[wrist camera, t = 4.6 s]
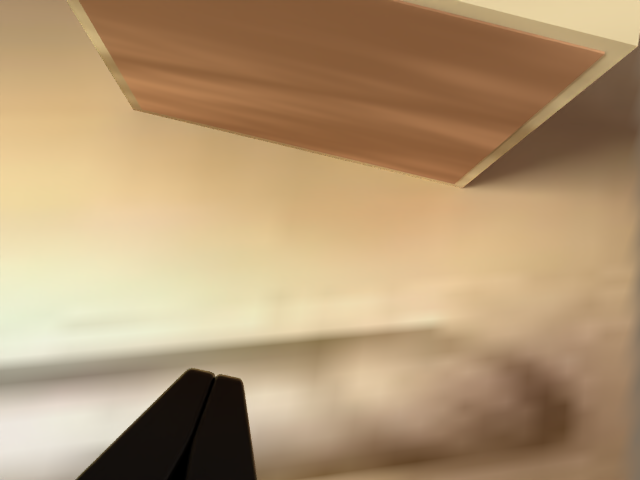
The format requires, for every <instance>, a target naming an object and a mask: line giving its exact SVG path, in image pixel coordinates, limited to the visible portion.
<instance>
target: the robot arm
mask: <svg viewBox="0 0 640 480" xmlns="http://www.w3.org/2000/svg"><path fill="white" fill-rule="evenodd" d="M76 480H257V475H256V468H255V461H254V454H253V448H252V441H251V434H250V427H249V420H248V413H247V406H246V399H245V392H244V385H243V382H242V380H241V379H240V378H236V377H231V376H227V375H222V374H219V375H217V376H216V377H215V375H214V373H212V372H209V371H204V370H200V369H195V368H190V369H188V370H187V371H185V372H184V373H183V374H182V375H181V376H180V377H179V378H178V379H177V380H176V381H175V382H174V383H173V384H172V385H171V386H170V387H169V388H168V389H167V390H166V391H165V392H164V393H163V394H162V395H161V396H160V397H159V398H158V399H157V400H156V401H155V402H154V403H153V404H152V405H151V406H150V407H149V408H148V409H147V410H146V411H145V412H144V413H143V414H142V415H141V416H140V417H139V418H138V419H136V420H135V421H134V422H133V423H132V424H131V425H130V426H129V427H128V428H127V429H126V430H125V431H124V432H123V433H122V434H121V435H120V436H119V437H118V438H117V439H116V440H115V441H114V442H113V443H112V444H111V445H110V446H109V447H108V448H107V449H106V450H105V451H104V452H103V453H102V454H101V455H100V456H99V457H98V458H97V459H96V460H95V461H94V462H93V463H92V464H91V465H90V466H89V467H88V468H87V469H86V470H85V471H84V472H83V473H82V474H81V475H80V476H79V477H78V478H77V479H76Z"/></svg>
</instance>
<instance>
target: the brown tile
mask: <svg viewBox="0 0 640 480" xmlns="http://www.w3.org/2000/svg"><path fill="white" fill-rule="evenodd" d="M66 1H67V3H68V4H69V6H70V8H71V9H72V11H73V12H74V14H75V16H76V17H77V19H78V21H79V22H80V24H81V25H82V27H83V29H84V30H85V32H86V33H87V35H88V37H89V38H90V40H91V42H92V43H93V45H94V46H95V48H96V50H97V51H98V53H99V55H100V56H101V58H102V59H103V61H104V63H105V64H106V66H107V67H108V69H109V71H110V72H111V74H112V76H113V77H114V79H115V80H116V82H117V84H118V85H119V87H120V88H121V90H122V92H123V93H124V95H125V97H126V98H127V100H128V101H129V103H130V105H131V106H132V108H133V110H137V111H141V112H145V113H150V114H154V115H158V116H162V117H166V118H171V119H175V120H179V121H183V122H187V123H191V124H196V125H200V126H204V127H208V128H212V129H217V130H221V131H225V132H229V133H233V134H238V135H242V136H246V137H250V138H254V139H258V140H263V141H267V142H271V143H275V144H279V145H284V146H288V147H292V148H296V149H300V150H304V151H309V152H313V153H317V154H321V155H325V156H330V157H334V158H338V159H342V160H346V161H351V162H355V163H359V164H363V165H367V166H371V167H376V168H380V169H384V170H388V171H392V172H397V173H401V174H405V175H409V176H413V177H417V178H422V179H426V180H430V181H434V182H438V183H443V184H447V185H451V186H455V187H459V188H463V187H464V186H465V185H467V184H468V183H469V182H470V181H472V180H473V179H474V178H475V177H476V176H478V175H479V174H480V173H481V172H483V171H484V170H485V169H486V168H488V167H489V166H490V165H491V164H493V163H494V162H495V161H496V160H498V159H499V158H500V157H501V156H502V155H504V154H505V153H506V152H507V151H509V150H510V149H511V148H512V147H514V146H515V145H516V144H517V143H519V142H520V141H521V140H522V139H524V138H525V137H526V136H527V135H528V134H530V133H531V132H532V131H533V130H535V129H536V128H537V127H538V126H540V125H541V124H542V123H543V122H545V121H546V120H547V119H548V118H550V117H551V116H552V115H553V114H554V113H556V112H557V111H558V110H559V109H561V108H562V107H563V106H564V105H566V104H567V103H568V102H569V101H571V100H572V99H573V98H574V97H576V96H577V95H578V94H579V93H581V92H582V91H583V90H584V89H585V88H587V87H588V86H589V85H590V84H592V83H593V82H594V81H595V80H597V79H598V78H599V77H600V76H602V75H603V74H604V73H605V72H607V71H608V70H609V69H610V68H611V67H613V66H614V65H615V64H616V63H618V62H619V61H620V60H621V59H623V58H624V57H625V56H626V55H628V54H629V53H630V52H631V51H633V50H634V49H635V48H636V47H637V46H638V41H639V33H640V0H66Z"/></svg>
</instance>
